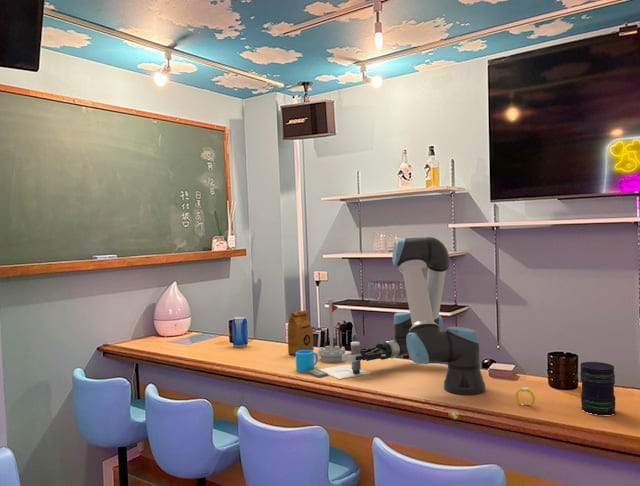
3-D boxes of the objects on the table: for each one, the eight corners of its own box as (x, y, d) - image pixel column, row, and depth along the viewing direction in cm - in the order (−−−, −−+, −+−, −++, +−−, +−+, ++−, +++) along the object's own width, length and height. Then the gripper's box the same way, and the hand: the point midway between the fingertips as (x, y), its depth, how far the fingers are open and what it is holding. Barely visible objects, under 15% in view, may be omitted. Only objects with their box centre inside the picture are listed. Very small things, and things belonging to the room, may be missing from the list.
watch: (515, 405, 174) (513, 388, 175) (518, 403, 177) (516, 386, 177) (533, 407, 171) (531, 390, 171) (536, 405, 173) (534, 387, 173)
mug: (304, 373, 224) (304, 354, 224) (292, 370, 230) (291, 352, 230) (324, 368, 232) (323, 350, 232) (311, 365, 238) (311, 347, 238)
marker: (362, 373, 218) (361, 342, 218) (354, 374, 216) (354, 343, 216) (357, 371, 221) (356, 341, 221) (349, 372, 219) (349, 342, 219)
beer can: (246, 347, 281) (245, 318, 281) (231, 348, 281) (230, 319, 281) (249, 344, 290) (248, 316, 290) (234, 344, 290) (233, 316, 290)
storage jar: (583, 414, 163) (581, 368, 163) (579, 405, 172) (578, 361, 172) (618, 417, 159) (617, 370, 159) (612, 407, 169) (611, 362, 169)
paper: (370, 373, 220) (370, 372, 220) (338, 379, 212) (338, 378, 212) (347, 365, 235) (347, 364, 235) (317, 370, 228) (317, 369, 228)
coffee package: (316, 352, 263) (315, 310, 263) (298, 357, 255) (296, 313, 255) (304, 350, 271) (302, 308, 271) (285, 354, 262) (284, 311, 262)
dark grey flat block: (328, 375, 219) (328, 373, 219) (317, 377, 216) (317, 375, 216) (316, 370, 227) (316, 368, 227) (306, 372, 225) (306, 370, 225)
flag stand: (331, 364, 238) (329, 300, 238) (313, 359, 248) (311, 298, 248) (351, 359, 247) (349, 297, 247) (332, 355, 257) (331, 295, 257)
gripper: (400, 361, 222) (358, 371, 209) (374, 355, 236) (334, 363, 222) (399, 344, 222) (357, 353, 208) (374, 338, 236) (333, 346, 222)
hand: (345, 358), depth 215 cm, fingers closed on marker, 4 cm apart
